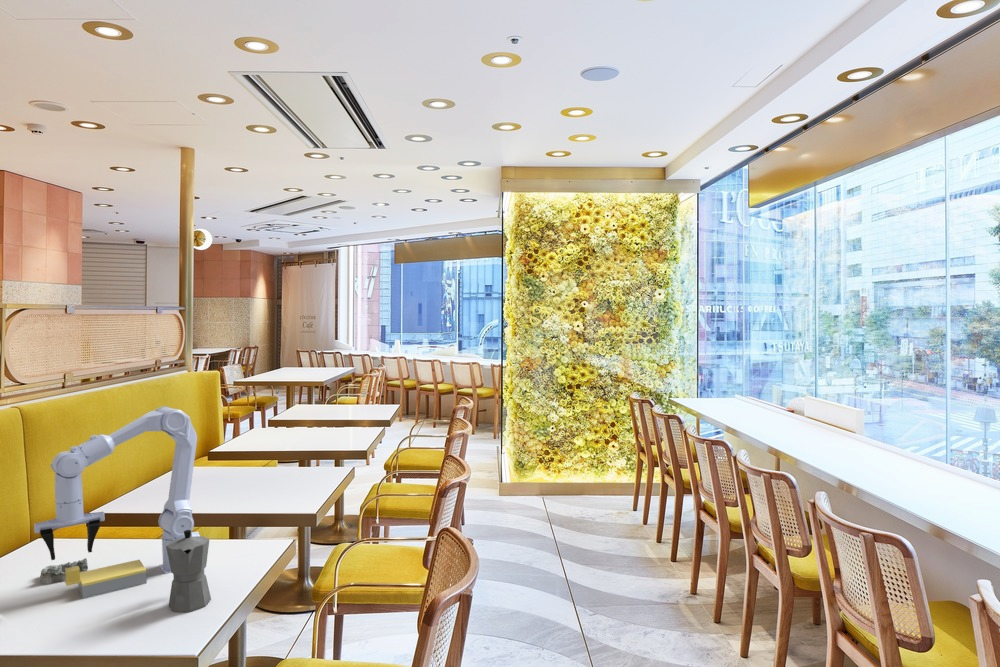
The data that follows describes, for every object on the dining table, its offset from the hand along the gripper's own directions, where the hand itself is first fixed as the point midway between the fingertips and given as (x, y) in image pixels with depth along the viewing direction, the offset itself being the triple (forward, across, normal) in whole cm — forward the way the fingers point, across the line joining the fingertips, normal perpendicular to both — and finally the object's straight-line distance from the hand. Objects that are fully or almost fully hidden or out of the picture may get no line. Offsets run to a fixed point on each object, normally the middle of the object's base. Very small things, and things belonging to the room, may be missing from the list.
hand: (71, 555), depth 164 cm
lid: (+7, -7, 0) cm, 10 cm away
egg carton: (+11, 0, -15) cm, 19 cm away
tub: (+10, -8, 0) cm, 13 cm away
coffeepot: (+11, -22, +23) cm, 33 cm away
